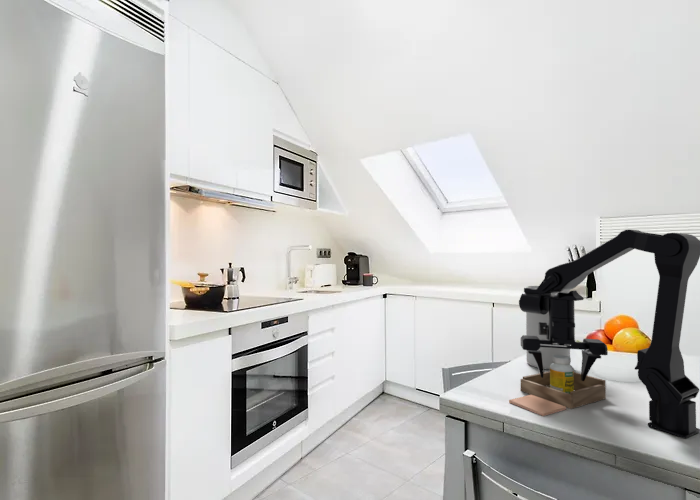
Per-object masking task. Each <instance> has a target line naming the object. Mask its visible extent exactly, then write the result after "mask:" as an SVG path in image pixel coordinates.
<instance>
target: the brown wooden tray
mask: <svg viewBox="0 0 700 500" xmlns="http://www.w3.org/2000/svg"><path fill="white" fill-rule="evenodd" d="M606 387H607V386H606V380H605V379H602V378H600V377H599V378H598V377H595V376H590V375H587V376H586V378H585V380H584V381H582V380H581V372H580V373H579V372H576V371H574V391H571V392H570V394H568V393H565V392H562V391H559V390H556V389H553V388H550V370H548V371H543V378H541V375H540V372H539V373H534V374H528V375H525V376H522V378H520V391H521V392H523V393H525V394H528V395H531V394H532V395H534V396H537V397H540V398H543V399H546V400H548V401H551V402H554V403H557V404H560V405H562V406H565V407H566V409H571V410H572V409H575V408H578V407H581V406H585V405H588V404H589V405H590V404H593V403H596V402H599V401H603V400H606V398H607V396H606V395H607V394H606V393H607V391H606V390H607V389H606Z"/></svg>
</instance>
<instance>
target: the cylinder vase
mask: <svg viewBox="0 0 700 500" xmlns="http://www.w3.org/2000/svg"><path fill="white" fill-rule="evenodd" d="M538 287H539V285H527V286H525V288H534V289H537V288H538ZM570 291H571V290H563V291H562V292H561V293H569V292H570ZM558 293H559V292H558ZM556 294H557V293H551V295H552V296H555V295H556ZM525 313H526V314H525V317H526V321H525V322H526V323H525V325H526V326H525V327H526V328H525V330H526V332H525V333H526V335H528V336H537V337H538V338H539V339H540V340H548V339H546V335H539V329H538V328H539V322H543V323H547V325H549V311H548V313H547V314H545V315H543V314H536V313H528V312H525ZM553 344H556V343H553ZM558 345H559V344H558ZM569 346H571V345H569ZM539 350H540V351H541V353H542V363H543V370H548V371H550V365H551V364H552V363H554V362H553V355H564V356H568V357H570V358H571V349H564V348H548V347H540V349H539ZM526 362H527V364H528V365H529V366H531V367H534V368H537V369H538V366H537V363H536V361H535V358H534V356H533V354H529V353H528V351H527V350H526ZM569 365H571V363H570V364H569Z"/></svg>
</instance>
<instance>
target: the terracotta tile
mask: <svg viewBox="0 0 700 500" xmlns="http://www.w3.org/2000/svg"><path fill="white" fill-rule="evenodd" d="M508 402H509V403H510V404H512V405H514V406H517V407H519V408H522V409H524V410H527V411H529V412H532V413H535V414H537V415H539V416H542V417H545V416H548V415H552V414H556V413H559V412H563V411H566V410H567V407H565V406H562V405H560V404H557V403H554V402H551V401H548V400H546V399H543V398H540V397H537V396H534V395H532V394H528V395H524V396H520V397H515V398H512V399H509V400H508Z"/></svg>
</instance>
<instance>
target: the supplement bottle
mask: <svg viewBox="0 0 700 500" xmlns="http://www.w3.org/2000/svg"><path fill="white" fill-rule="evenodd" d="M571 359H572V358H571V356H570V357H568V356H564V355H553V362H554V363H552V364H551V365H550V370H549V371H550V385H549V387H550V388H553V389H556V390H559V391H562V392H565V393H568V394H570V392H571V391H575V390H574V372H575V369H574V367H573V366H572V365H571V363H572V362H571V361H572V360H571ZM569 364H570V365H569Z"/></svg>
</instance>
